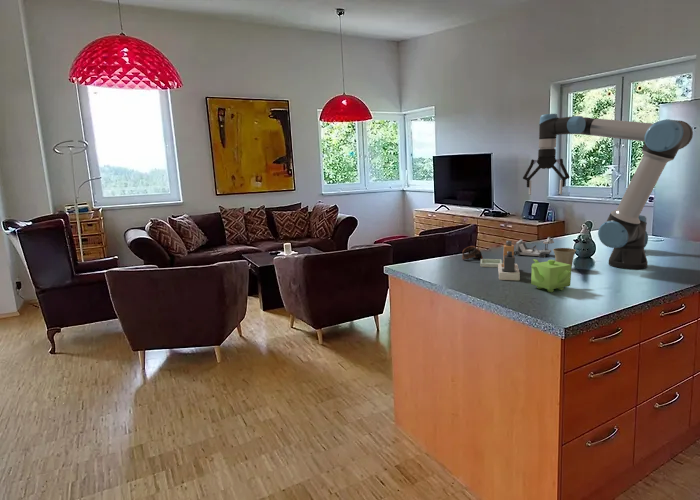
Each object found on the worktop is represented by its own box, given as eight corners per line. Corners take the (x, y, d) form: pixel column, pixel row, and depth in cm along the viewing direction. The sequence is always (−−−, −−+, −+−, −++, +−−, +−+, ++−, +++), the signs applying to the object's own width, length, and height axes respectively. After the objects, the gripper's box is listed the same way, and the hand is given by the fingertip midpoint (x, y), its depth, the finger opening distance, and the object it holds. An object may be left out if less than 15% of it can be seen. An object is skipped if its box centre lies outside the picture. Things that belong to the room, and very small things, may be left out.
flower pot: (548, 269, 212) (549, 250, 210) (556, 265, 218) (557, 247, 217) (570, 272, 205) (571, 252, 204) (578, 268, 212) (579, 249, 210)
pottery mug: (486, 263, 230) (480, 249, 227) (468, 271, 232) (461, 258, 229) (480, 252, 241) (474, 239, 238) (463, 260, 243) (456, 247, 240)
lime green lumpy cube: (529, 292, 177) (530, 263, 175) (528, 283, 191) (529, 255, 188) (573, 294, 172) (575, 264, 170) (569, 285, 186) (571, 257, 183)
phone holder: (555, 236, 241) (551, 239, 231) (554, 254, 243) (550, 259, 233) (519, 234, 251) (513, 237, 241) (518, 252, 252) (513, 256, 243)
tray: (501, 263, 226) (501, 259, 225) (502, 268, 216) (502, 264, 215) (480, 262, 228) (480, 258, 228) (480, 267, 218) (480, 263, 218)
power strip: (516, 270, 212) (517, 246, 209) (519, 280, 195) (520, 254, 192) (498, 269, 214) (498, 245, 212) (499, 279, 197) (499, 253, 195)
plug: (512, 271, 210) (513, 240, 208) (513, 273, 205) (514, 242, 203) (502, 270, 211) (503, 240, 209) (503, 273, 207) (504, 242, 204)
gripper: (574, 147, 221) (572, 193, 225) (518, 149, 228) (516, 193, 232) (577, 147, 214) (575, 194, 218) (519, 149, 220) (517, 195, 224)
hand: (545, 194), depth 225 cm, fingers open, 13 cm apart
